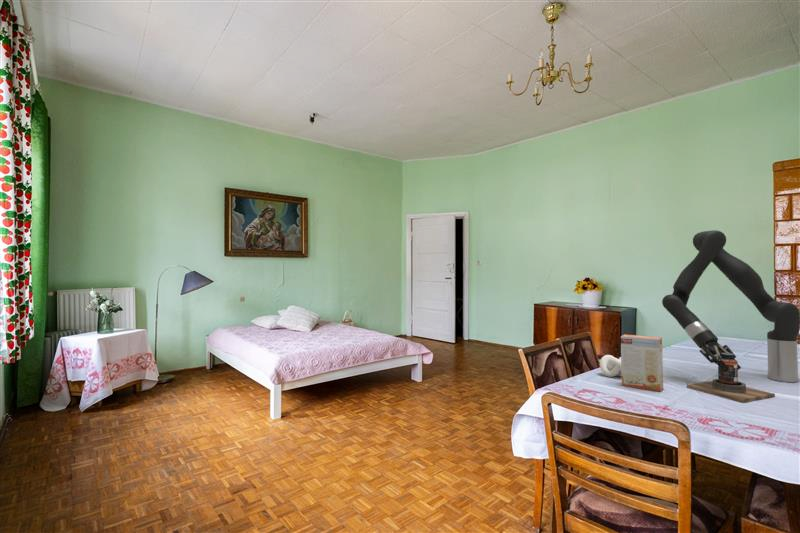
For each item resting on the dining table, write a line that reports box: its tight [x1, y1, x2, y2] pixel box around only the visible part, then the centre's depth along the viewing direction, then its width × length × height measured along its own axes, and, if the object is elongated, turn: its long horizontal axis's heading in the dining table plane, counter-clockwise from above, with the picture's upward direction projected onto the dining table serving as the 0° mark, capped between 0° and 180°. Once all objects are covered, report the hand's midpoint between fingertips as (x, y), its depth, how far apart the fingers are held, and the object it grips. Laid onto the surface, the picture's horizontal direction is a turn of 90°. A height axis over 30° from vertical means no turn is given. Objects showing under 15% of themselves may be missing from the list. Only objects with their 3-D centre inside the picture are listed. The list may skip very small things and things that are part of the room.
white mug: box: [599, 354, 622, 378], centre depth 180 cm, size 11×12×9 cm
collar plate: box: [686, 378, 776, 404], centre depth 156 cm, size 18×20×4 cm
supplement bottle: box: [717, 353, 739, 384], centre depth 156 cm, size 6×6×11 cm
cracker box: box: [620, 333, 664, 392], centre depth 164 cm, size 14×6×21 cm, turn 47°
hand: (732, 369), depth 154 cm, fingers closed on supplement bottle, 6 cm apart
